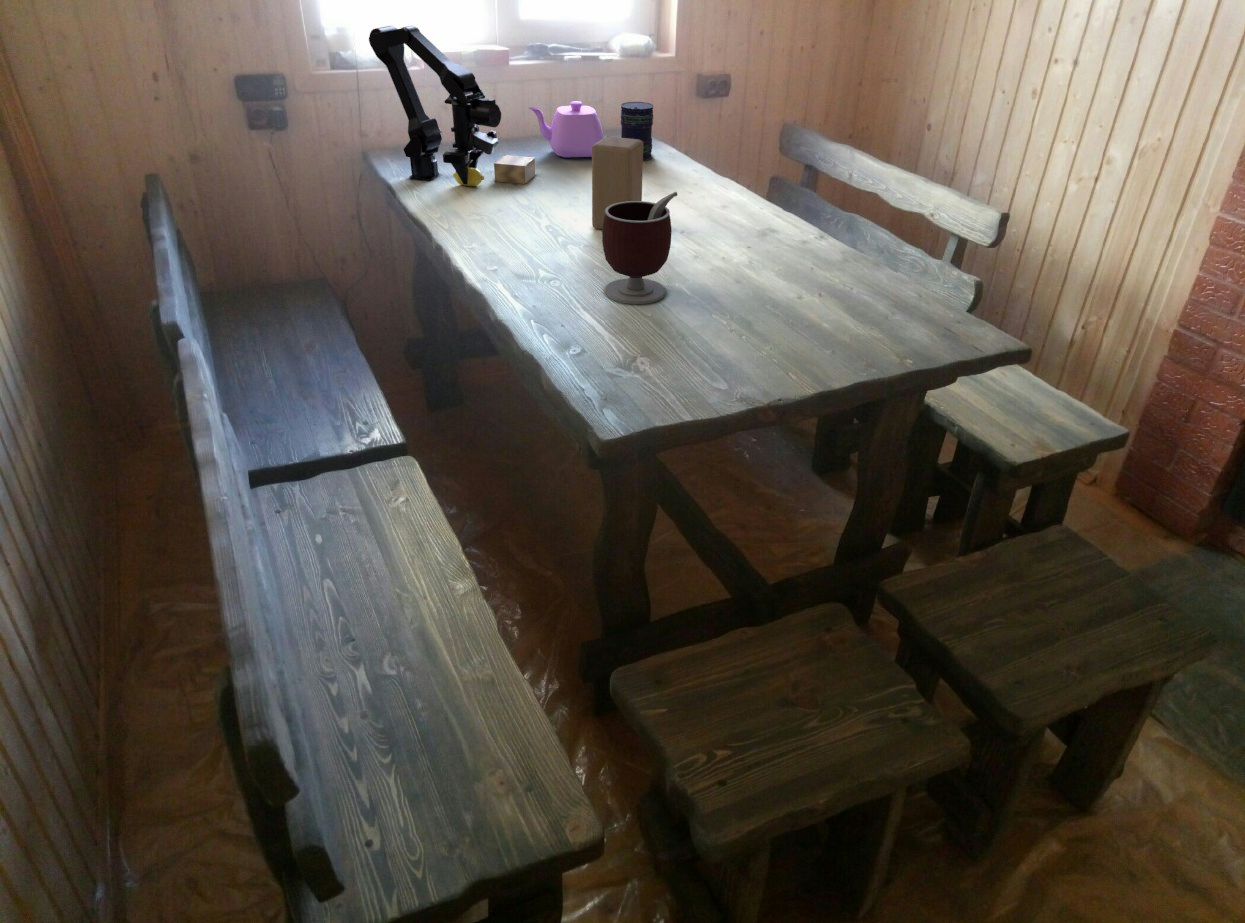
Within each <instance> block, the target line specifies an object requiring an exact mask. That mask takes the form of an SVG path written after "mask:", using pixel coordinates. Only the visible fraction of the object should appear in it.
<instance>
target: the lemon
mask: <svg viewBox="0 0 1245 923" xmlns="http://www.w3.org/2000/svg"><path fill="white" fill-rule="evenodd" d="M452 178H454V179H455V181H456V182H457V184H459V185H460V186H466V187H477V186H479V185H480V184H481V183H482V181H484V179H485V176H484V175H483V174H482V172H481V171H480V169H478V168H469V167H468V184H467V185H465V184H463V183H462V181H461V179H460V177H459V176H458V174H457V172H456V171H455V172H454V173H452Z"/></svg>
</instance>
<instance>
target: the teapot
mask: <svg viewBox="0 0 1245 923" xmlns="http://www.w3.org/2000/svg"><path fill="white" fill-rule="evenodd" d="M527 108H528V109H530V110H531V111H532V112H533V113H534V114H535V116H536V118H537V123H538V128H539V131H540V134H541V135H542V137H543V138H544V139H545V140H546V141H549V142H548V143H549V145H550V147H551V149H552V151H553V152H554V154H556V155H557V156H559V157H561V158H563V159H571V158H584V157H585V158H592V147H593V145H594V144H596V143H597V142H599V141H600V140H602V139H603V138H604V132H603V127H602V124H601V120H600V118H599V116H598V113H597V111H596V110H595V108H594V107H592V106H590V105H583V102H582V101H580V100H573V101H570V102H569V105H560V106H558V107H557V108H556V111H555V112H554V115H553V119H552V122H551V125H550V126H549V125H548V124H547V123H546V121H545V116H544V113H543V111H542V110H541V109H540V108H538V107H533V106H528V107H527Z"/></svg>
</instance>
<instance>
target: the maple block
mask: <svg viewBox="0 0 1245 923" xmlns="http://www.w3.org/2000/svg"><path fill="white" fill-rule="evenodd" d="M493 170H494V182H496V183H497V182H499V183H508V184H509V183H510V184H519V185H520V184H521V185H526V184H528V182H529V181H531V180H532V179H533V178H534V177H535V176H536V158H535V157H534V156H533V157H532V156H521V155H510V154H509V155H507V154H504V155H503V156H501V157H500V158H499V159H497V160H496V161H495V162H493Z"/></svg>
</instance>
